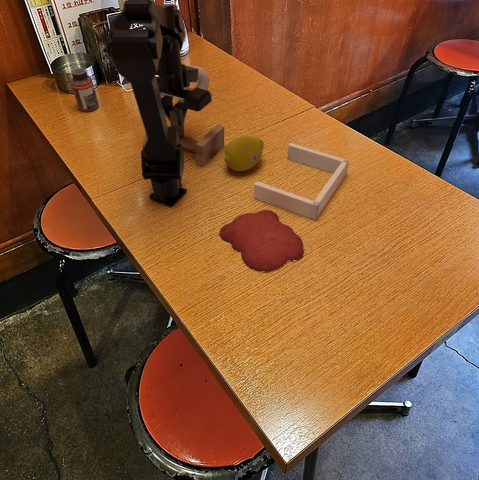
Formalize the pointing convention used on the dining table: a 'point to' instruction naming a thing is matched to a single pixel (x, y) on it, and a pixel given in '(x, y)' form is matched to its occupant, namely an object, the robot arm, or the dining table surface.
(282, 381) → the dining table surface
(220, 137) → the scraper
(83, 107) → the supplement bottle
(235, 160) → the lemon
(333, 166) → the box
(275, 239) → the red spill
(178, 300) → the dining table surface
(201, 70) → the donut
